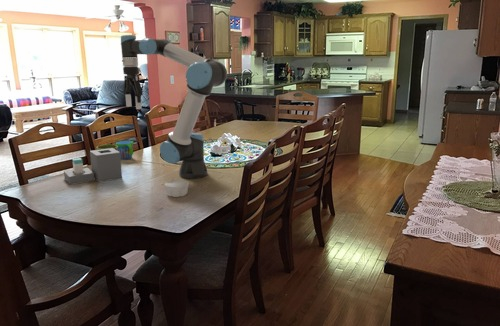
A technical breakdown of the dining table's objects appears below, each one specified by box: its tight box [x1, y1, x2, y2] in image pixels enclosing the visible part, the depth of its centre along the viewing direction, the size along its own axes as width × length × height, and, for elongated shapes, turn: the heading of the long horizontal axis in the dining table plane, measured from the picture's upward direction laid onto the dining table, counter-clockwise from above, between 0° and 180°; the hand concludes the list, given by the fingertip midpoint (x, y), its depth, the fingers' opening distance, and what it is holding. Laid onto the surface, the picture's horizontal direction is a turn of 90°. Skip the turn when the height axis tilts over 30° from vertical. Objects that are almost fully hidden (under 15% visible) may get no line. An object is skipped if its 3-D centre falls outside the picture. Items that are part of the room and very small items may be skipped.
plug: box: [71, 157, 84, 174], centre depth 210 cm, size 4×4×11 cm
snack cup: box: [114, 140, 135, 160], centre depth 253 cm, size 16×10×10 cm
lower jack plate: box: [63, 167, 96, 185], centre depth 210 cm, size 12×12×4 cm
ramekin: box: [164, 179, 190, 198], centre depth 190 cm, size 11×11×5 cm
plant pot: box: [96, 144, 118, 151], centre depth 236 cm, size 12×12×11 cm
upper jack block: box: [89, 148, 123, 183], centre depth 213 cm, size 12×12×14 cm
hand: (133, 107), depth 213 cm, fingers open, 13 cm apart
